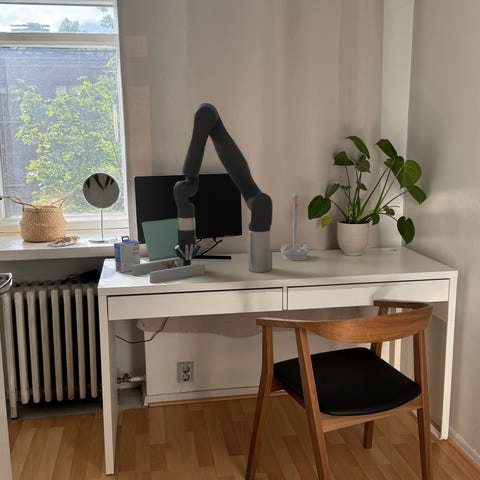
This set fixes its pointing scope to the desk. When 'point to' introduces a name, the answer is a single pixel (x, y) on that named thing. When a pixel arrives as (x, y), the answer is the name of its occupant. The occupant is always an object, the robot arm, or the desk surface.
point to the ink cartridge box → (126, 254)
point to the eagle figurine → (172, 265)
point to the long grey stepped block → (167, 270)
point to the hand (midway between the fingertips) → (187, 268)
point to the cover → (161, 238)
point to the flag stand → (294, 240)
